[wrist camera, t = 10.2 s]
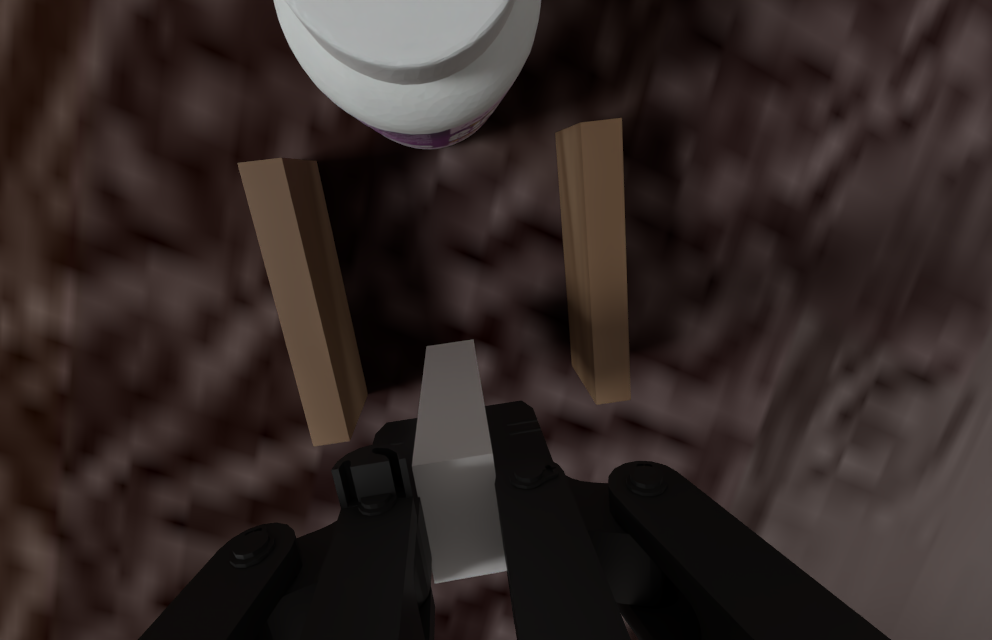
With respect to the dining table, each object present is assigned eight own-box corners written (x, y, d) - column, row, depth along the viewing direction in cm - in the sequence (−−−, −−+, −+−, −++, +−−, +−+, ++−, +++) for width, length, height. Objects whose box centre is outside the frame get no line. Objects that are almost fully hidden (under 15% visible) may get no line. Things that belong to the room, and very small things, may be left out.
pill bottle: (480, 170, 17) (511, 168, 8) (330, 121, 16) (165, 51, 7) (527, 7, 16) (635, -232, 6) (367, -58, 15) (223, -443, 5)
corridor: (338, 398, 19) (313, 446, 16) (281, 165, 16) (237, 163, 13) (600, 361, 20) (630, 399, 16) (588, 128, 17) (621, 117, 13)
